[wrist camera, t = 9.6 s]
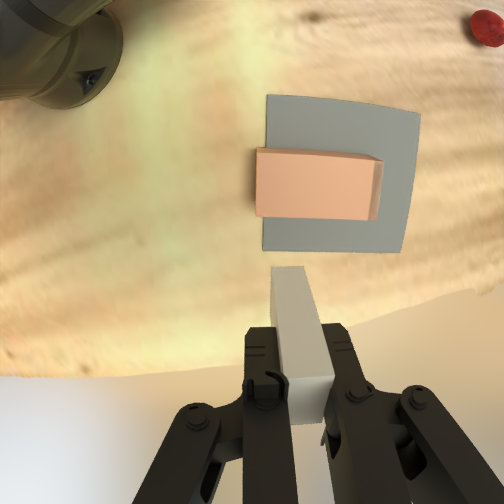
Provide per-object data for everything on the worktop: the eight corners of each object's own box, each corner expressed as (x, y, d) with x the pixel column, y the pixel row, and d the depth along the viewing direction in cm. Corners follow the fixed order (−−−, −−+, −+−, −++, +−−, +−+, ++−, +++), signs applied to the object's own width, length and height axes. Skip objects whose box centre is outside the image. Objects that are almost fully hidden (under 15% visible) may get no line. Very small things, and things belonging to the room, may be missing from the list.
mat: (267, 94, 33) (267, 94, 32) (418, 113, 33) (420, 113, 33) (262, 249, 42) (263, 251, 41) (398, 251, 42) (400, 253, 41)
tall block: (257, 152, 31) (384, 161, 31) (256, 147, 35) (368, 154, 35) (255, 216, 34) (376, 220, 34) (255, 203, 38) (362, 207, 38)
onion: (485, 55, 28) (520, 53, 21) (458, 36, 27) (492, 29, 20) (488, 26, 25) (521, 21, 18) (461, 7, 25) (493, -3, 18)
